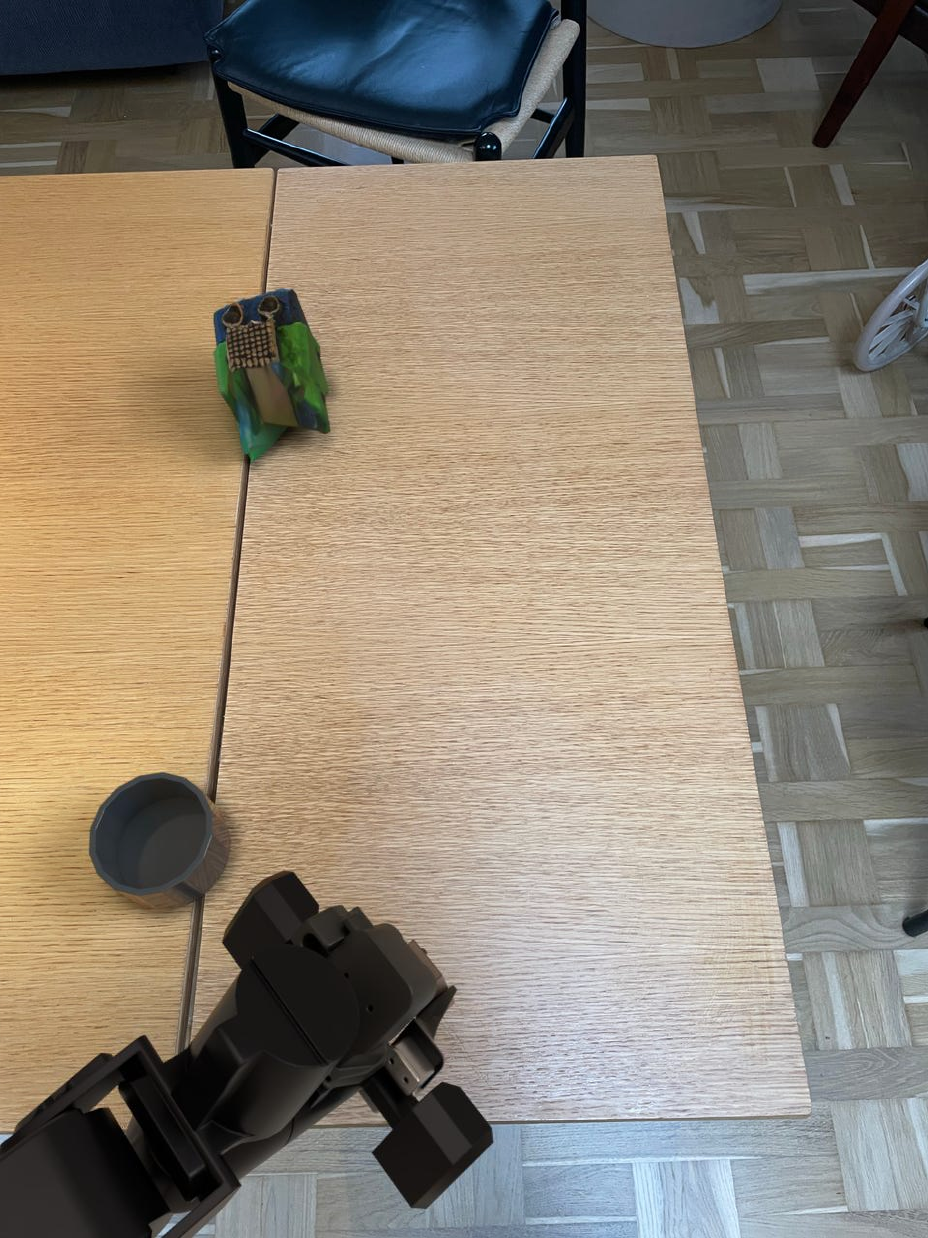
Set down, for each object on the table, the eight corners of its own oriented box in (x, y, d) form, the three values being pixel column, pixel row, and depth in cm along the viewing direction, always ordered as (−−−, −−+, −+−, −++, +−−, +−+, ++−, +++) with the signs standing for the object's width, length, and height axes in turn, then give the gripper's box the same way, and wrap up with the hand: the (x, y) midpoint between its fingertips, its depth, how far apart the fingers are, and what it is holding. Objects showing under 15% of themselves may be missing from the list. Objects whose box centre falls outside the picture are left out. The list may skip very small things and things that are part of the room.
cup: (173, 934, 76) (149, 921, 72) (91, 862, 79) (63, 845, 75) (254, 837, 80) (237, 819, 75) (172, 772, 83) (151, 750, 78)
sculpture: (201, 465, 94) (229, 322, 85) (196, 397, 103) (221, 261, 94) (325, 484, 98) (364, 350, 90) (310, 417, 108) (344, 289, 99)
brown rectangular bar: (426, 1030, 66) (406, 1007, 54) (402, 999, 67) (377, 970, 55) (455, 1002, 67) (442, 975, 55) (431, 972, 68) (413, 938, 56)
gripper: (455, 1179, 42) (617, 1021, 54) (211, 850, 49) (405, 778, 61) (337, 1296, 46) (511, 1126, 59) (131, 981, 53) (326, 890, 66)
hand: (437, 973), depth 61 cm, fingers closed on brown rectangular bar, 2 cm apart
